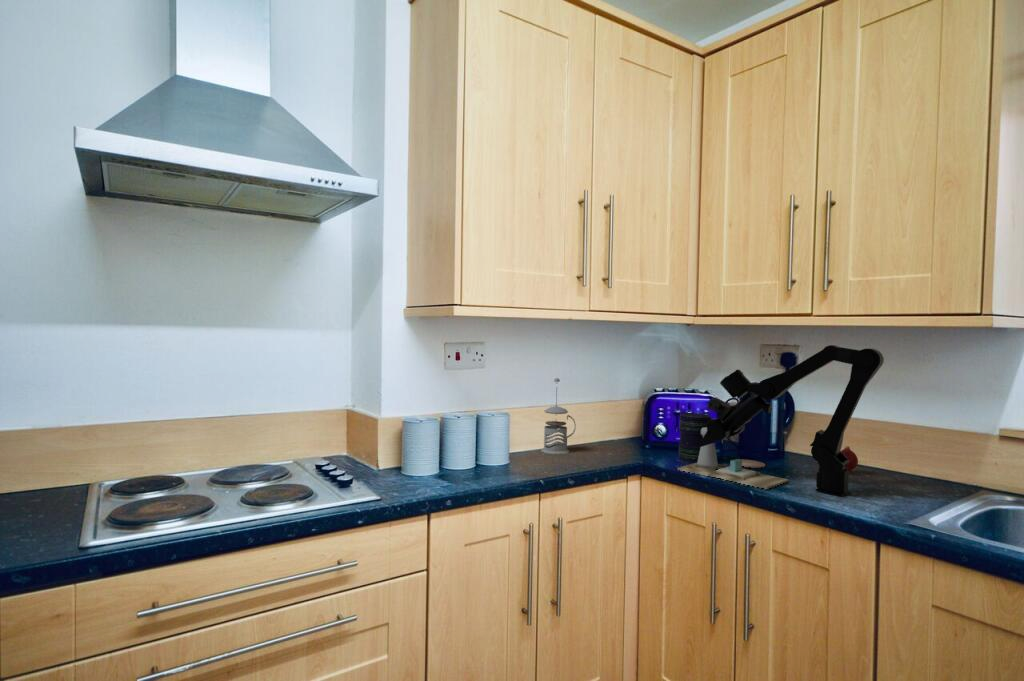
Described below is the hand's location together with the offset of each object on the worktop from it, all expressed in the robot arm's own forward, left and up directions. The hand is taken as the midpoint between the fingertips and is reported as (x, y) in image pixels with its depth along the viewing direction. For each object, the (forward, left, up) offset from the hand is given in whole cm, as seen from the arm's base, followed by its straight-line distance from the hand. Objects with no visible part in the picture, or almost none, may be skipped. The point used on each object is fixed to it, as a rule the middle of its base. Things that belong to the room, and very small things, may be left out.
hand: (705, 443), depth 173 cm
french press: (+46, +15, -8) cm, 50 cm away
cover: (-10, 0, -7) cm, 12 cm away
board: (-9, 0, -8) cm, 12 cm away
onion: (-28, -34, -8) cm, 44 cm away
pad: (-4, -20, -8) cm, 22 cm away
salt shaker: (-1, 0, -8) cm, 8 cm away
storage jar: (+9, -10, -8) cm, 16 cm away
